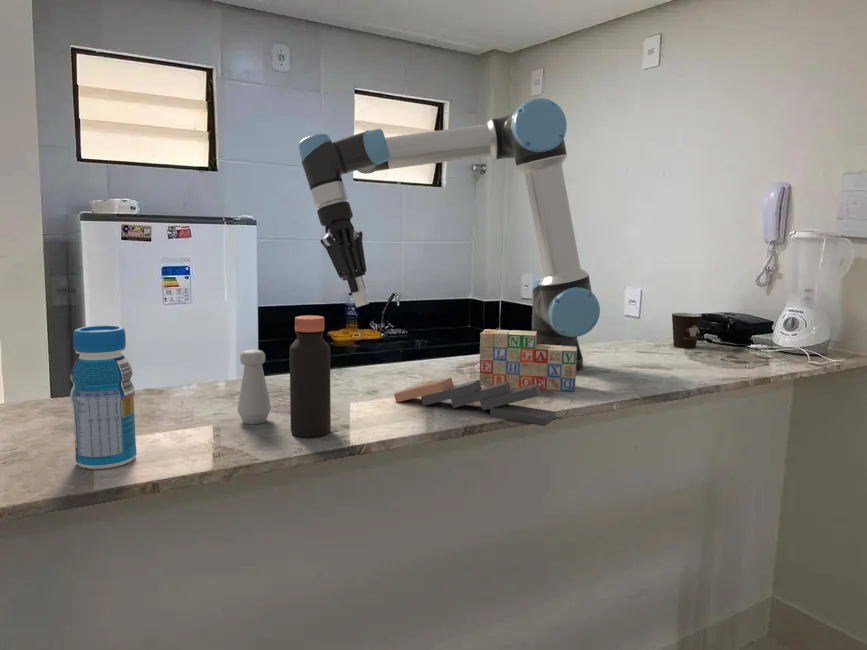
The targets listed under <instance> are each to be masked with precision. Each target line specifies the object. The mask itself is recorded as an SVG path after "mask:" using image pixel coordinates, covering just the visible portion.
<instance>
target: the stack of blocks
mask: <svg viewBox="0 0 867 650" xmlns="http://www.w3.org/2000/svg"><path fill="white" fill-rule="evenodd" d="M479 335H480V341H479V344H480V345H479V381H480V384H481V386H485V387H488V386H492V385H495V384H499V383H503V382H506V381H508V382H509V386H510V389H511V388H513V389H519V388H522V387H526V386H530V385H534V384H539V388H540V391H541V390H544V391H559V392H569V393H570V392H572V393H574V392H575V390H576V381H577V380H576V376H577V371H576V357H577V347H576V346H560V345H537V331H532V330H519V329H517V330H516V329H515V330H514V329H512V330H508V329H490V328H487V329H486V328H485V329H483V331H481V332H480V333H479Z"/></svg>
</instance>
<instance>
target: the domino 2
mask: <svg viewBox="0 0 867 650" xmlns="http://www.w3.org/2000/svg"><path fill="white" fill-rule="evenodd" d="M511 390H512V389H511V388H510V386H509V382H508V381H506V382H503V383H499V384H495V385H492V386H485V387H481V389H479V390H478V391H476V392H475V393H473V394H469V395H465V396H461V397H457V398H453V399H450V400H451V401H450V402H451V405H452V407H453V408H454V409H456V408H458V407H462V406H465V405H471V404H473V403H477V402H480V401H481V400H485V399H489V398H492V397H496V396H500V395H504V394H507V393H508V392H509V391H511Z"/></svg>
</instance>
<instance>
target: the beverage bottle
mask: <svg viewBox="0 0 867 650" xmlns="http://www.w3.org/2000/svg"><path fill="white" fill-rule="evenodd" d="M72 338H73V349H74V351H75V353H76V354H79V357H77V359H76V360H75V362H74V364H73V366H72V368H71V370H70V374H69V375H70V377H69V378H70V381H71V382H72V388H71V390H70V392H69V393H70V401H71V406H72V407H71V408H72V420H73V421H72V422H73V432H74V433H73V435H74V448H75V462H76V464H77V466H78V467H80V468H83V469H86V468H87V469H88V470H106V469H113V468H117V467H121V466H124V465H126V464H130V462H132V461H133V460H134V459H135V458H136V456H137V454H138V453H137V445H136V444H137V443H136V441H137V439H136V419H135V418H136V417H135V401H134V399H135V397H134V396H135V392H136V391H135V386H134V383H132V376H133V375H134V374H133V369H132V366H131V364H130V362H129V360H128V359H127V358H126V356H125V355H123V353H122V352H124V351H125V349H126V345H127V343H126V331H125V328H124V327H123V326H118V325H93V326H85V327H84V326H83V327H79V328H76V329H74V330H73V337H72Z"/></svg>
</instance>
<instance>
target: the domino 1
mask: <svg viewBox="0 0 867 650" xmlns="http://www.w3.org/2000/svg"><path fill="white" fill-rule="evenodd" d="M481 388H482V385H481V384H480V379H475V380H472V381H468V382H467V381H466V382H464V383H460V384H456V385H454V386H453V387H451V388H449V389H447V390H445V391H443V392H439V393H434V394H430V395H426V396H421V397H420V399H421V403H422V406H423V407H425V406H428V405H432V404H437V403H440V402H443V401H448V400H451V399H453V398H457V397H461V396H465V395H469V394H473V393H475V392H476V391H478V390H479V389H481Z"/></svg>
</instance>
